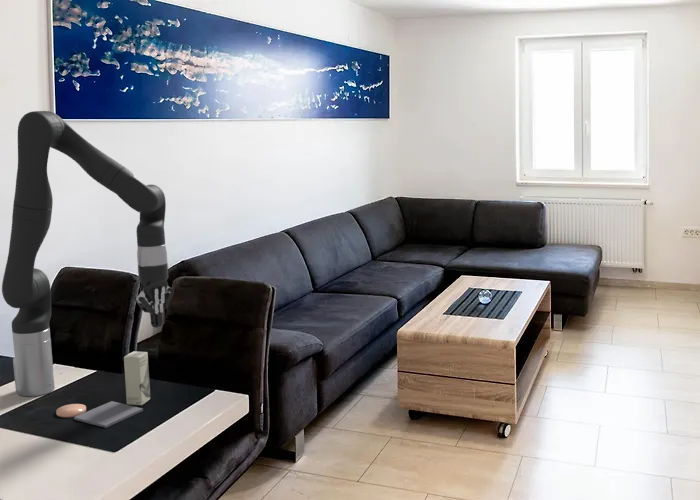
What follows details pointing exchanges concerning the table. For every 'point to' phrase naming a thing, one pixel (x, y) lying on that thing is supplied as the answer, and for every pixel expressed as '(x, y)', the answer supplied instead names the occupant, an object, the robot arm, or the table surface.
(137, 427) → the table surface
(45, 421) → the table surface
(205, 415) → the table surface
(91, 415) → the mat
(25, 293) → the robot arm
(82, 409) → the glossy peach dome
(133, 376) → the box
